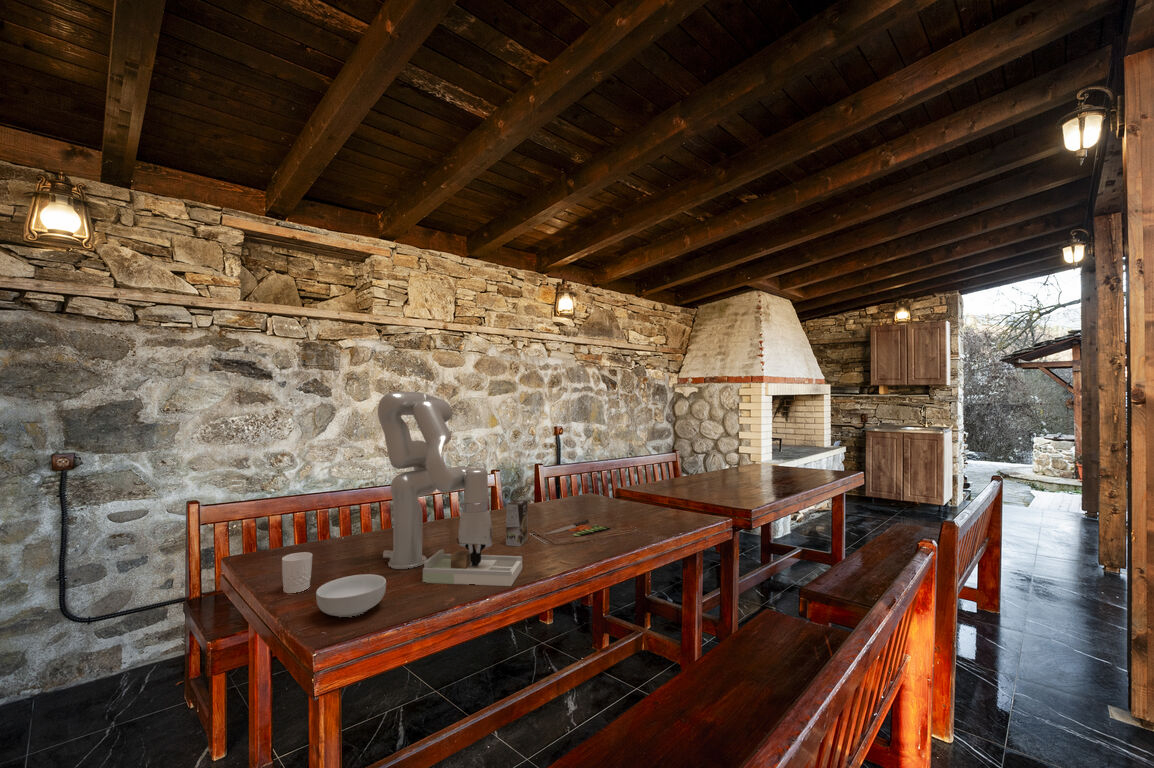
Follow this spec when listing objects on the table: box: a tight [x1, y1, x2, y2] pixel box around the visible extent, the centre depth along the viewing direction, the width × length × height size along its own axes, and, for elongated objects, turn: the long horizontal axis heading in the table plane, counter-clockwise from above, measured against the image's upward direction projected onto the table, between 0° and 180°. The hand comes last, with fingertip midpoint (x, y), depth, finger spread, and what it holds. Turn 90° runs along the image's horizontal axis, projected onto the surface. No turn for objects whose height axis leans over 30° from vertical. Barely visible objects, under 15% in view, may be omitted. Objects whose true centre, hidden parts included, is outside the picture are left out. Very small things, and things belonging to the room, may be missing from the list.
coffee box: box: [505, 499, 529, 547], centre depth 189 cm, size 9×6×16 cm
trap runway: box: [422, 549, 523, 587], centre depth 153 cm, size 28×15×6 cm, turn 83°
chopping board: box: [528, 518, 638, 546], centre depth 205 cm, size 45×27×3 cm, turn 119°
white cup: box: [281, 551, 313, 593], centre depth 142 cm, size 8×8×10 cm
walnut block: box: [451, 550, 471, 569], centre depth 153 cm, size 5×5×4 cm
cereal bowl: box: [315, 573, 387, 618], centre depth 127 cm, size 17×17×7 cm
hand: (475, 564), depth 153 cm, fingers closed
